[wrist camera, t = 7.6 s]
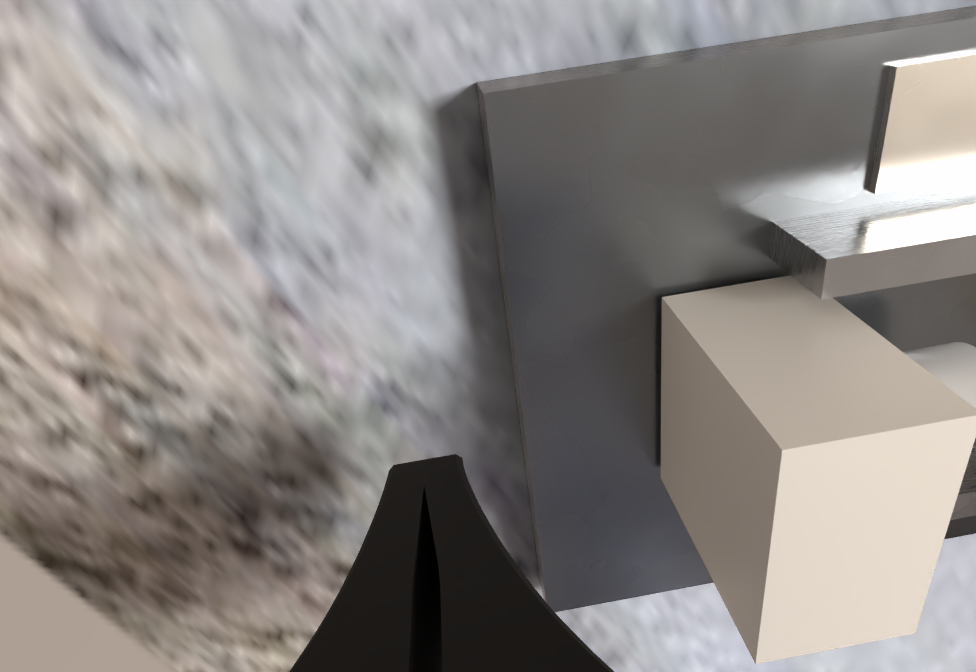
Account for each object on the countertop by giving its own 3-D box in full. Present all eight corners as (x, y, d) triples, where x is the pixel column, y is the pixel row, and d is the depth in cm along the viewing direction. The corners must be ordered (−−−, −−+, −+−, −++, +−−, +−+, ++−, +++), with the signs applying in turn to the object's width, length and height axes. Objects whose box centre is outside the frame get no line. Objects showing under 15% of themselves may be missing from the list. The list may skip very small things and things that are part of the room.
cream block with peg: (660, 477, 16) (755, 664, 12) (661, 297, 14) (782, 450, 10) (895, 435, 17) (1071, 602, 12) (938, 250, 14) (1178, 379, 10)
